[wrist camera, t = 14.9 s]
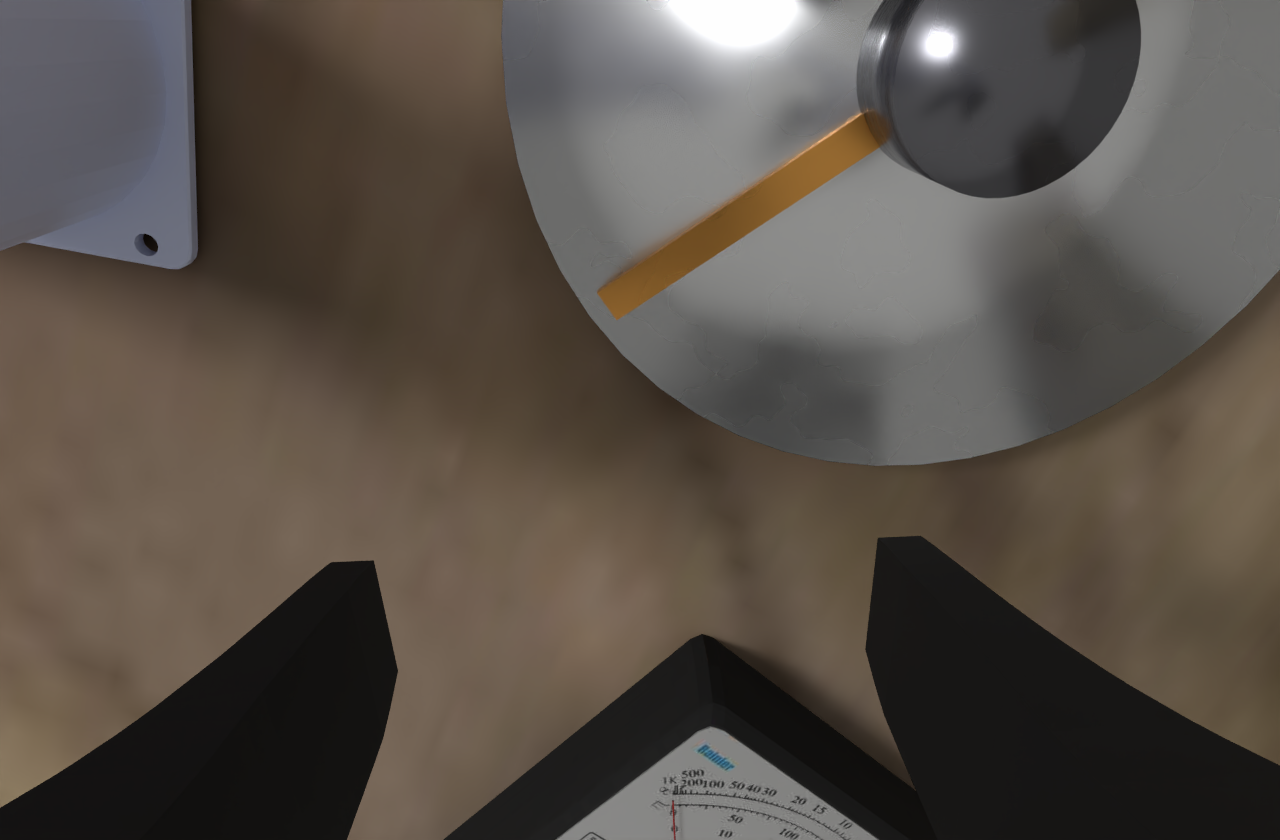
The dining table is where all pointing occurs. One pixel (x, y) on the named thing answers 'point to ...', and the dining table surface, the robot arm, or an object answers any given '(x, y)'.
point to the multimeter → (704, 769)
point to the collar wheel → (901, 203)
